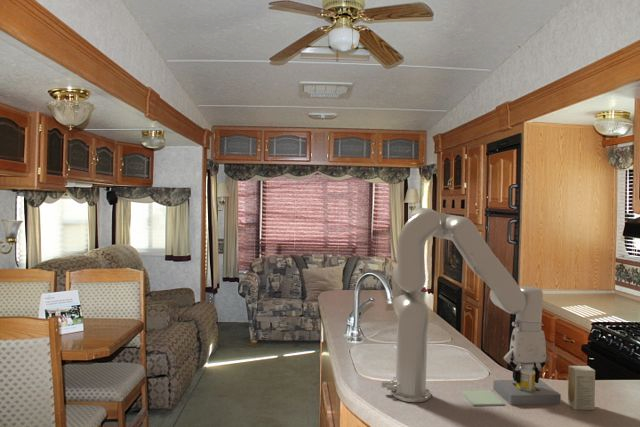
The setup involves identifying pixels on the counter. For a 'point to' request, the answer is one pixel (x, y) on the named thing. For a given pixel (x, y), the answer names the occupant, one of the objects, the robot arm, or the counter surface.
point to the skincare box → (581, 387)
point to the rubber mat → (482, 398)
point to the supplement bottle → (526, 377)
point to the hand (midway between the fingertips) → (525, 380)
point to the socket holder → (526, 393)
